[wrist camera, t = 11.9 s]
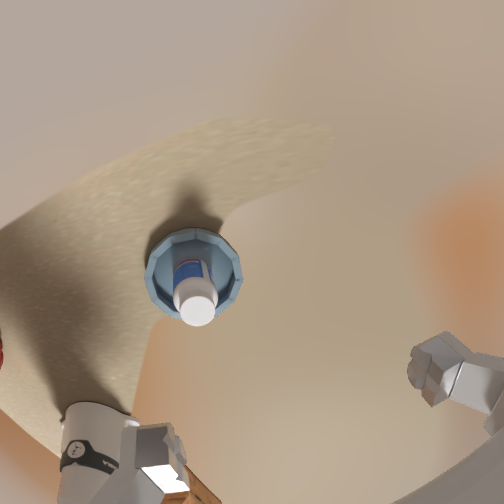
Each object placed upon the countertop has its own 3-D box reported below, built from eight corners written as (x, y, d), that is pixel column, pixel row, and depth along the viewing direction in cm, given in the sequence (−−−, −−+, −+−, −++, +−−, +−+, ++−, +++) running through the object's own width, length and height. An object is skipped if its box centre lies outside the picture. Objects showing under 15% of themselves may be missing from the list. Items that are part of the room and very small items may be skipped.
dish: (245, 301, 46) (248, 308, 44) (161, 320, 45) (161, 328, 43) (230, 218, 42) (232, 222, 40) (136, 240, 40) (134, 245, 38)
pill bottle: (166, 281, 42) (163, 318, 33) (185, 249, 41) (187, 281, 32) (199, 298, 44) (205, 338, 35) (219, 268, 43) (230, 303, 34)
